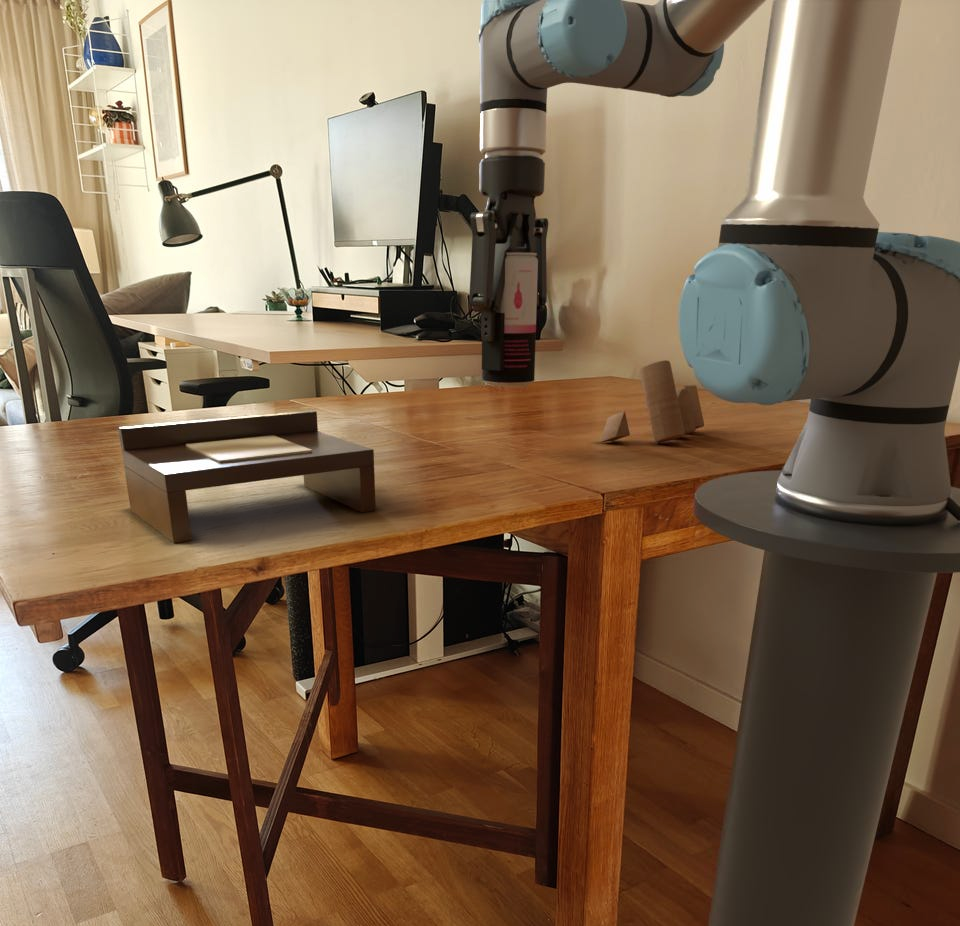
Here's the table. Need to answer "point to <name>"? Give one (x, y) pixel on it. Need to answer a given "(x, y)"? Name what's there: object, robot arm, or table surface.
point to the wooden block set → (661, 407)
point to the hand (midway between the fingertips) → (508, 367)
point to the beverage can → (518, 322)
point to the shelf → (237, 463)
